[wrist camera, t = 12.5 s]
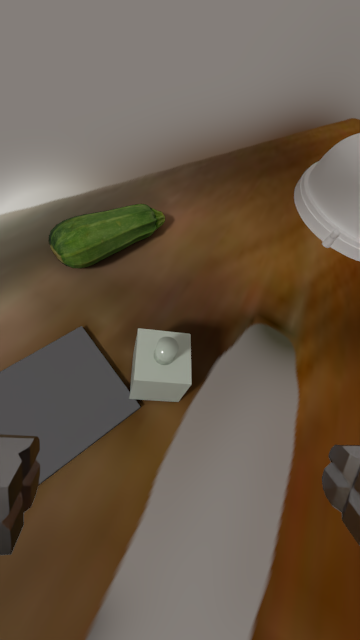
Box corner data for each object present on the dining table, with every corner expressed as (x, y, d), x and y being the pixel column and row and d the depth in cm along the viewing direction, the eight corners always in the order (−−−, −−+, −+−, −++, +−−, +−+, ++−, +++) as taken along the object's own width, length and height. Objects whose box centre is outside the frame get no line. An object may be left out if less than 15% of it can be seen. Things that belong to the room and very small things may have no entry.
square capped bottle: (129, 398, 37) (135, 371, 29) (133, 353, 41) (140, 317, 33) (178, 401, 38) (197, 376, 31) (178, 357, 42) (195, 324, 34)
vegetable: (40, 219, 39) (161, 179, 47) (40, 237, 46) (147, 200, 54) (67, 269, 40) (182, 221, 48) (64, 280, 46) (165, 236, 55)
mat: (-39, 396, 35) (-41, 395, 34) (82, 327, 42) (81, 325, 41) (16, 501, 31) (14, 502, 30) (140, 407, 38) (140, 406, 37)
